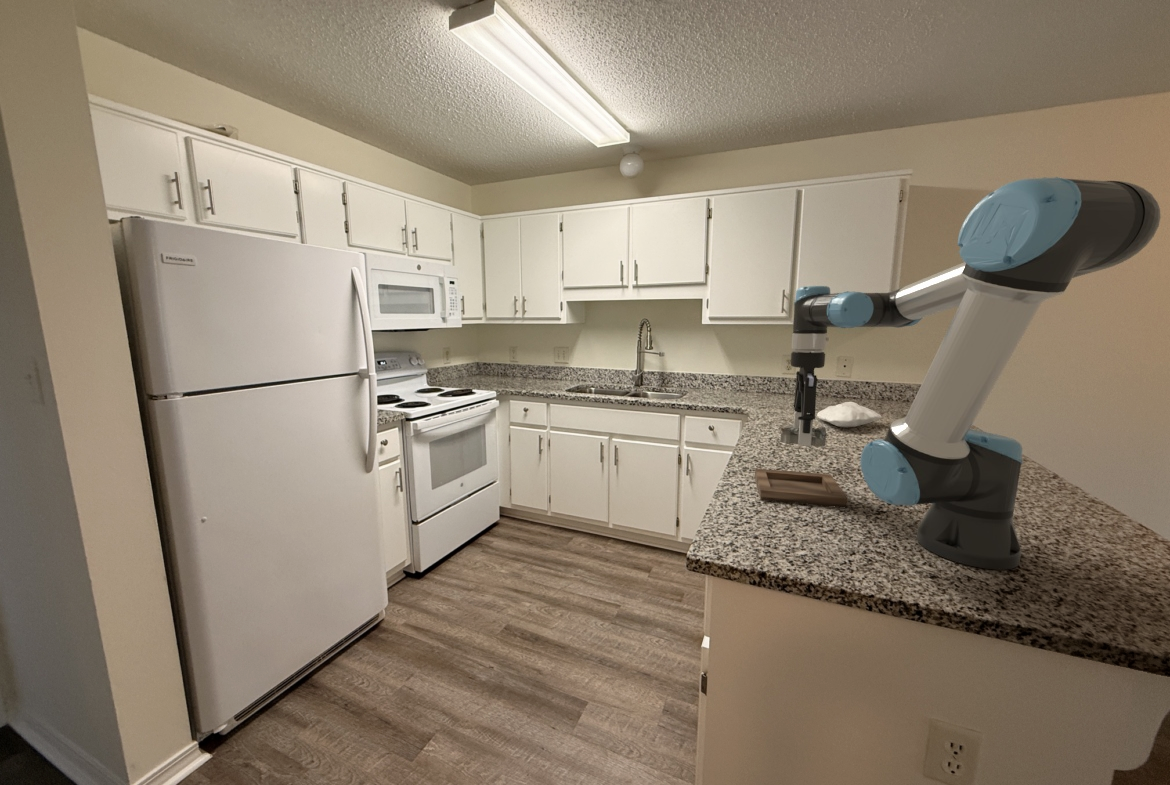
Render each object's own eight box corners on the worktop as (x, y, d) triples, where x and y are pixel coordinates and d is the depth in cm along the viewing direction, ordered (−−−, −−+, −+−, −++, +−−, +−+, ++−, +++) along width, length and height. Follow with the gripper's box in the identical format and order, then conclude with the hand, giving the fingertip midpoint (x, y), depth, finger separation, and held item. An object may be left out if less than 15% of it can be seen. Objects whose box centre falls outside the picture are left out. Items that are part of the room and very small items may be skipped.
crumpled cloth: (879, 417, 198) (878, 396, 198) (885, 433, 168) (883, 409, 168) (819, 419, 210) (817, 400, 210) (814, 435, 180) (812, 413, 180)
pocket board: (846, 508, 106) (847, 498, 106) (760, 499, 111) (761, 490, 111) (829, 483, 122) (830, 474, 122) (754, 477, 127) (755, 468, 127)
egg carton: (778, 443, 114) (778, 427, 113) (780, 436, 121) (781, 421, 120) (826, 448, 109) (827, 431, 108) (826, 441, 116) (827, 425, 115)
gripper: (835, 354, 100) (826, 453, 104) (816, 348, 120) (810, 432, 124) (798, 353, 102) (791, 451, 106) (785, 348, 122) (780, 430, 126)
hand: (801, 440), depth 115 cm, fingers closed on egg carton, 8 cm apart
